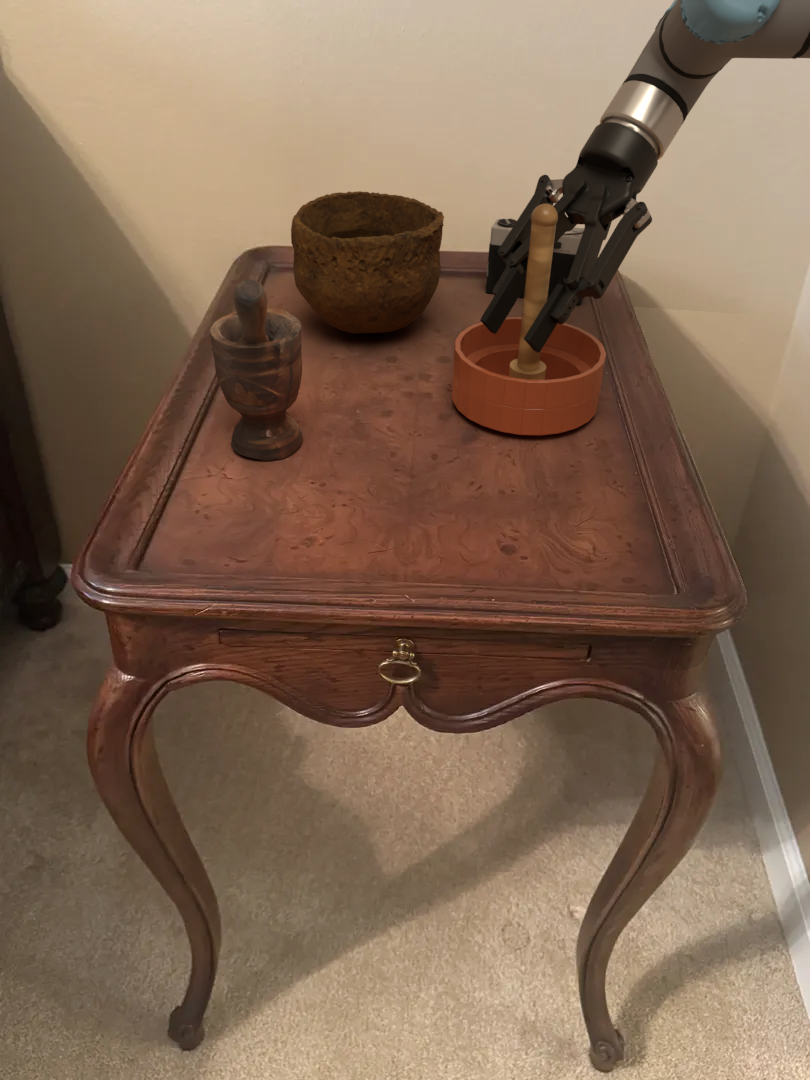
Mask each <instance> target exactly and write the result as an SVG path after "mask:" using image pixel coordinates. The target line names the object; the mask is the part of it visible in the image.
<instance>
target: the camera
mask: <svg viewBox="0 0 810 1080" xmlns="http://www.w3.org/2000/svg"><path fill="white" fill-rule="evenodd" d="M516 222H517V219H513V218H496V220H495V221H494V223H493V225H492V226H491V227H490V228H491V229H490V241H489V245H488V255H487V257H488V258H487V265H486V274H485V275H486V283H485V293H486V294H492V295H494V294H493V289H494V287H495V285H496V284H497V282H498V281H499V279H500V277H501V275H502V274H503V272H504V270H505V269H506V264H505V262H504V261H503V260H502V258H501V257H500V256H499V255H498V250H499V248H500V246H501V245H502V243H503V242H504V240H505V239H506V237H507V236H508V234H509V232H510V231H511V229H512V228H513V226H514V225H515V223H516ZM584 228H585V227H576V226H575V227H574V228H573V229H572V230H571V231H569V232H565V233H564V234H563V235H562V236H561V237H560V239H559V240H558V241H557V242H556V243H555V244H554V247H553V255H552V263H551V272H550V280H549V288H548V296H547V300H548V298H549V297H550V295H551V293H552V292H553V290H554V289H555V287H556V285H557V284H561V285H564V287H565V288H566V287H567V285H566V283H565V282H564V278H565V279H566V278H568V276H569V273H570V270H571V267H572V264H573V261H574V258H575V255H576V252H577V249H578V246H579V243H580V240H581V237H582V234H583V231H584ZM521 262H522V261H521ZM526 274H527V273H526ZM526 274H525V276H526ZM566 280H567V279H566ZM524 294H525V288H524V289H523V291H522V293H521V294H520V296H519V297H518V298H521V299H524ZM583 300H584V297H583V298H582V299H580V300H579V301H578V303H577V304H576V306H581V305H582V303H583Z"/></svg>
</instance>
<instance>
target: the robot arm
mask: <svg viewBox="0 0 810 1080" xmlns="http://www.w3.org/2000/svg"><path fill="white" fill-rule="evenodd" d="M732 59H781V60H782V59H789V60H790V59H792V60H796V59H810V0H673V2H672V3H671V5H670V6H669V7H668V8H667V9H666V10H665V12H664V14H663V15H662V17H661V18H660V19H659V20H658V22H657V24H656V26H655V28H654V31H653V33H652V35H651V36H650V38H649V39H648V41H647V43H645V46H644V47H643V49H642V50H641V53H640V54H639V56H638V58H637V60H636V61H635V62H634V65H633V66H632V68H631V70H630V72H628V75H627V77H626V78H625V79H624V81H623V82H622V84H621V85H620V87H619V88H618V89H617V92H615V95H614V96H613V97H612V99H611V101H610V102H609V104H608V106H607V107H606V109H605V111H604V112H603V113H602V115H601V117H600V119H599V124H597V125H596V126H595V127H594V128H593V131H592V132H591V134H590V135H589V137H588V139H587V141H586V142H585V144H584V145H583V147H582V148H581V150H580V152H579V155H578V158H577V162H576V165H575V167H574V168H573V169H572V170H571V171H570V172H568V173H567V174H566V175H565V176H564V177H563V178H560V179H559V178H558V179H551V178H550V177H549V175H548V174H542V175H540V176H539V178H538V180H537V183H536V187H535V191H534V194H533V195H532V197H531V198H530V200H529V202H528V203H527V205H525V208H524V209H523V210H522V212H521V214H520V215H519V216H518V219H516V221H517V222H516V223H515V225H514V226H513V228H512V229H511V231H510V232H509V234H508V236H507V237H506V239H505V240H504V242H503V243H502V245H501V246H500V248H499V250H498V255H499V256H500V257H501V258H502V260H503V261H504V262H505V264H506V269H505V270H504V272H503V274H502V275H501V277H500V279H499V281H498V282H497V284H496V285H495V287H494V289H493V294H492V295H494V296H493V298H492V299H491V301H490V303H489V304H488V306H487V307H486V309H485V311H484V312H483V314H482V316H481V318H480V319H479V322H482V323H483V324H484V325H485V326H486V328H487V329H488V330H489V331H490V332H492V333H494V334H496V333H497V332H498V330H499V328H500V327H501V325H502V323H503V322H504V320H505V319H506V317H508V315H509V313H510V312H511V311H512V309H513V307H514V305H515V304H516V303H517V301H518V299H519V298H520V297H519V296H520V294H521V293H522V291H523V289H524V288H525V284H526V276H525V274H526V273H527V265H528V255H529V245H530V236H531V226H532V220H531V217H532V213H533V211H534V209H535V208H536V207H537V206H539V205H541V204H550V205H552V206H553V207H554V208H555V209H556V210H557V213H558V221H557V223H556V230H555V238H554V244H555V243H556V242H557V241H558V240H559V239H560V237H561V236H562V235H563V234H564V233H565V232H569V231H571V230H572V229H573V228H574V227H575V228H576V226H577V225H584V227H583V228H584V231H583V234H582V237H581V240H580V243H579V246H578V249H577V252H576V255H575V258H574V261H573V264H572V267H571V270H570V273H569V276H568V278H566V279H567V280H566V279H565V278H564V282H565V283H566V285H567V287H566V288H565V287H564V285H561V284H557V285H556V287H555V289H554V290H553V292H552V293H551V295H550V297H549V298H548V300H547V302H546V303H545V305H544V306H543V308H542V310H541V311H540V313H539V315H538V316H537V318H536V319H535V321H534V323H533V324H532V326H531V327H530V329H529V331H528V332H527V334H526V336H525V337H524V340H525V341H526V342H527V343H528V344H529V345H530V347H531V348H532V349H533V350H534V351H536V352H538V353H540V351H541V349H542V348H543V346H544V345H545V343H546V341H547V340H548V338H549V337H550V335H551V333H552V332H553V330H554V328H555V327H556V325H557V324H561V325H562V324H563V323H566V322H567V321H568V319H569V318H570V316H571V314H572V313H573V311H574V309H575V308H576V306H577V305H576V304H577V303H578V301H579V300H580V299H582V298H583V299H584V298H593V299H594V300H599V299H601V298H602V297H603V296H604V294H605V292H606V290H607V289H608V287H609V286H610V284H611V282H612V281H613V278H614V277H615V275H616V274H617V272H618V270H619V269H620V266H621V265H622V263H623V262H624V260H625V258H626V257H627V255H628V253H629V251H630V250H631V248H632V247H633V245H634V242H635V241H636V239H637V238H638V236H639V235H640V234H642V232H644V231H645V229H646V228H648V227H649V226H650V225H651V224H652V222H653V217H652V215H651V212H650V210H649V208H648V206H647V204H646V203H645V202H644V201H637V195H638V194H640V193H641V192H642V191H643V189H644V188H645V186H646V185H647V183H648V181H650V180H649V179H650V178H651V176H652V175H653V174H654V172H655V170H656V168H657V166H658V164H659V162H658V161H659V160H661V159H662V158H663V156H664V155H665V153H666V152H667V150H668V149H669V147H670V145H671V144H672V142H673V140H674V138H675V137H676V136H677V134H678V132H679V130H680V129H681V127H682V126H683V124H684V123H685V121H686V119H687V117H688V115H689V114H690V113H691V111H692V109H693V108H694V106H695V105H696V103H697V101H698V100H699V98H700V97H701V95H702V94H703V92H704V91H705V89H706V88H707V87H708V85H709V84H710V83H711V81H712V80H713V79H714V77H716V75H717V74H719V72H720V71H722V70H723V68H724V67H725V66H727V64H728V63H729V62H730V61H731V60H732ZM561 195H562V196H561ZM560 196H561V197H560ZM559 197H560V198H559ZM619 217H621V219H620V220H619V222H618V223H617V225H616V226H615V228H614V230H613V231H612V233H611V234H610V237H609V238H608V240H607V241H606V239H607V237H608V234H609V232H610V228H611V226H612V222H613V221H614V220H615V221H616V220H617V219H618V218H619ZM604 241H606V243H605V245H604V247H603V248H602V245H603V242H604ZM601 249H602V250H601ZM521 261H522V262H521Z"/></svg>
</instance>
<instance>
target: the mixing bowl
mask: <svg viewBox="0 0 810 1080" xmlns="http://www.w3.org/2000/svg"><path fill="white" fill-rule="evenodd" d="M521 322H522V316H509V317H508V316H507V317H506V319H505V320H504V322H503V323H502V325H501V327H500V328H499V330H498V332H497V333H496V334H494V333H492V332H490V331H489V330H488V329H487V328H486V326H485V325H484V324H483V323H482V322H481V321H479V322H477V323H474V324H472V325H469V326H467V327H466V328H465V329H464V330H462V331H460V332H459V334H458V336H456V338H455V341H454V349H453V350H454V351H453V367H452V383H451V384H452V387H451V397H452V399H451V400H452V403H453V404H454V406H455V407H456V410H458V412H459V413H461V414H462V415H463V416H464V417H466V418H467V420H470V421H472V422H474V423H476V424H478V425H480V426H482V427H484V428H488V429H491V430H495V431H497V432H500V433H507V434H512V435H518V436H547V435H556V434H562V433H565V432H568V431H573V430H575V429H578V428H579V427H581V426H583V425H585V424H586V423H589V421H591V419H592V418H593V417H594V416H595V415H596V414H597V409H598V405H599V399H600V393H601V388H602V387H601V386H602V382H603V376H604V372H605V371H604V370H605V366H606V365H605V364H606V358H607V352H606V350H605V346H604V344H603V343H602V342H601V341H600V340H599V339H598V338H597V337H596V336H594V335H593V334H592V333H590V332H588V331H586V330H585V329H583V328H580V327H577V326H575V325H572V324H570V323H566V322H565V323H563V324H562V325H561V324H557V325H556V327H555V328H554V330H553V332H552V333H551V335H550V337H549V338H548V340H547V341H546V343H545V345H544V346H543V348H542V349H541V354H540V361H542V362H543V363H544V364H545V365H546V374H545V380H527V379H520V378H513V377H509V367H510V363H511V361H513V360H515V359H518V351H519V342H520V332H521Z"/></svg>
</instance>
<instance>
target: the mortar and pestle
mask: <svg viewBox="0 0 810 1080" xmlns="http://www.w3.org/2000/svg"><path fill="white" fill-rule="evenodd" d="M233 303H234V308H235V311H234V312H231V313H229V314H227V315H224V316H222V317H220V318H218V319H217V320H216V321H215V322H213V324H212V326H211V327H210V328H209V338H210V343H211V350H212V356H213V359H214V370H215V374H216V377H217V382H218V383H219V388H220V390H221V391H222V394H223V396H224V399H225V401H226V403H227V404H228V405H229V406H230V407H231V408H232V409H234V411H237V412H238V413H239V414H240V415H241V418H240V419H239V421H238V422H237V423H236V425H235V426H234V428H233V432H232V434H231V439H230V440H231V441H230V446H231V448H232V450H233V451H234V452H235V453H236V454H238V455H240V456H242V457H245V458H248V459H249V458H250V459H254V460H260V461H263V462H264V461H265V462H266V461H274V460H281V459H285V458H287V457H289V456H291V455H293V454H294V453H295V452H296V451H298V449H299V448H300V447H302V444H303V433H302V430H301V428H300V426H299V425H298V423H297V422H296V421H295V419H293V417H291V416H290V415H288V414H287V410H289V409H290V408H291V407H292V406H293V405H294V404H295V403H296V401H297V399H298V396H299V391H300V388H301V383H302V375H303V353H302V347H303V346H302V324H301V321H300V320H299V319H298V318H297V317H296V316H294V314H291V313H289V312H288V311H286V310H284V309H277V308H276V309H275V308H274V309H273V308H268V296H267V291H266V289H265V287H264V286H263V284H261V283H260V281H257V280H255V279H251V278H249V279H245V280H241V281H240V282H238V283H237V285H236V286H235V290H234V295H233Z"/></svg>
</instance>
